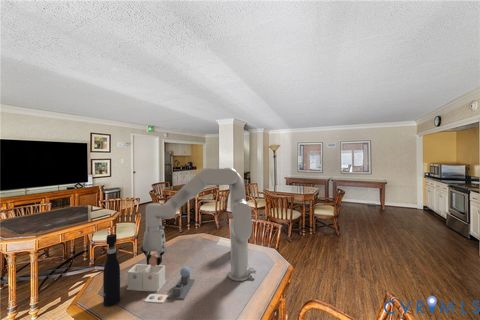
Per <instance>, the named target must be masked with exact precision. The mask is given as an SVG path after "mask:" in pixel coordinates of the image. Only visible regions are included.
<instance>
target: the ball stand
mask: <svg viewBox="0 0 480 320" xmlns="http://www.w3.org/2000/svg"><path fill="white" fill-rule="evenodd" d="M190 274H191V273H190ZM190 274H189V276H188V277H182V276H181V277H180V279H178V281H177V283H176V284H175V285H174V286H173V288H172V289H171V291H170V293H169V294H167V295H168V297H167V298H166V299H169V300H185V298H186V297H187V296H188V293H189V292H190V289H192V287H193V285H194V283H195V281H196V279H194V278H193V279H191V277H190V276H191V275H190Z"/></svg>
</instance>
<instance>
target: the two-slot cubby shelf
mask: <svg viewBox="0 0 480 320" xmlns="http://www.w3.org/2000/svg"><path fill="white" fill-rule="evenodd" d="M165 283H167V280H166V265H162V264H160V265H159V266H158V265H156V266H151V265H150V264H149V265H147V264H144V263H143V264H141V263H136V264H134V266H133V267H132V268H130V269H129V270H128V271H127V287H126V290H128V291H139V292H140V291H141V292H143V291H144V292H156V293H157V292H159V291H161V289H162V287H164V285H165Z"/></svg>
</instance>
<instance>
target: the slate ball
mask: <svg viewBox="0 0 480 320" xmlns="http://www.w3.org/2000/svg"><path fill="white" fill-rule="evenodd" d="M179 273H180V276H181V277H188V276H189V274H191V269H190V267H189V266H183V267H181V269H180V271H179Z"/></svg>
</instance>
